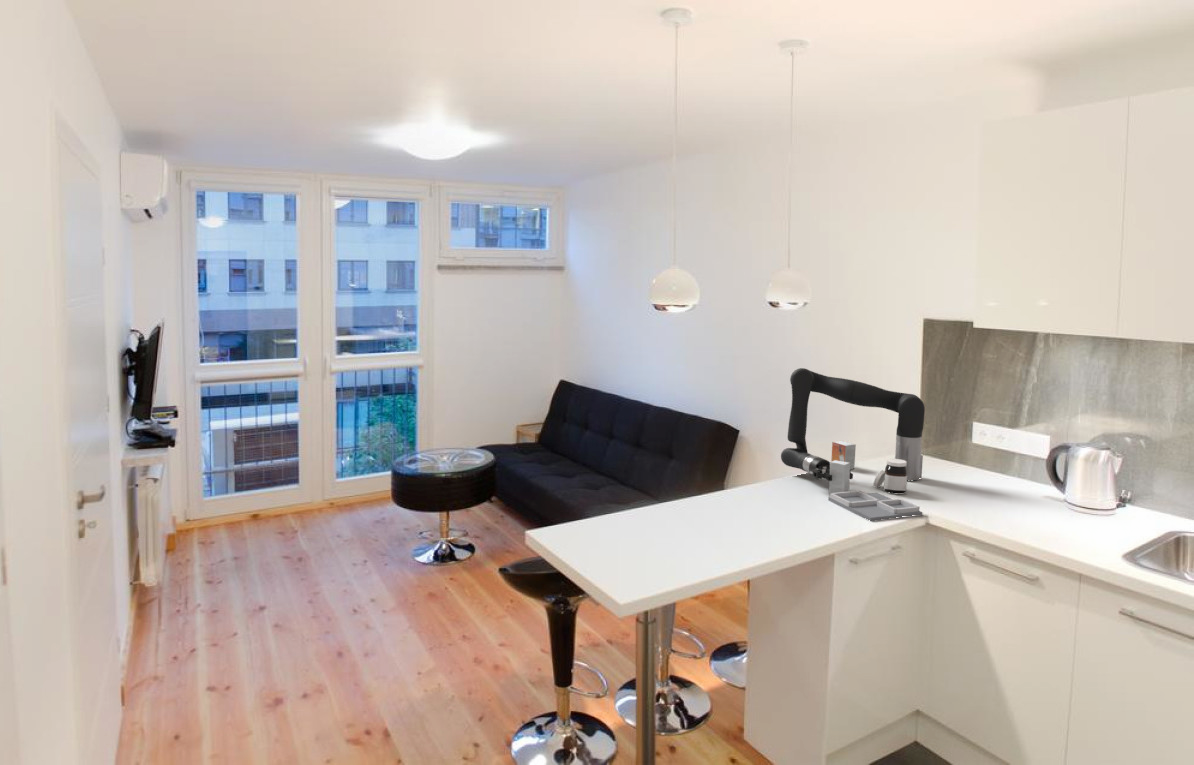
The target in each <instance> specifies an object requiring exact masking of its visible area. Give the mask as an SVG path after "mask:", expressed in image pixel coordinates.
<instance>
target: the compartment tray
mask: <svg viewBox="0 0 1194 765" xmlns="http://www.w3.org/2000/svg"><path fill="white" fill-rule="evenodd" d="M827 500H828V501H830V502H831V503H834V504H835V505H837V506H839V507H840V508H843V509H846V510H847V511H849V512H851V513H853V514H855V515H857V516H859V517H861V518H862V519H865V518H866V519H865V520H867V519H868V520H867V521H869V520H870V521H869V522H876V521H875V520H878V521H882V520H881V519H887V520H890V519H889V518H896V517H902V516H912V515H922V516H923V512H922V511H920V507H921V506H919V505H917V504H914V503H913V502H909V501H907V500H905V499H903V498H891V497H888V496H886V495H884V494H881V493H879V492H875V491H874V492H867V493H865V492H863V491H861V490H851V491H850V490H849V491H848V492H838V493H832V494H829V496H828V499H827Z"/></svg>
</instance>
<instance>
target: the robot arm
mask: <svg viewBox="0 0 1194 765" xmlns="http://www.w3.org/2000/svg"><path fill="white" fill-rule="evenodd" d="M789 381H790V385H791V395H792V397H791V398H792V399H791V408H790V414H789V418H788V419H789V420H788V428H787V441H789V442H791V443H794V444H795V445H796V448H795V447H794V448H793V447H788V448H785V449H783V450H782V452H781V453H780V460H781V462H782V463H783V464H784V465H785V466H787V467H791V468H794V469H799V470H802V471H803V472H806V473H807V474H809V475H810V477H812V478H814V479H816V480H826V481H832V475H830V462H831V461H829V460H827V459H826V458H822V457H820V456H818V455H814V454H811V453H808V448H807V440H806V434H807V425H808V423H807V422H808V405H809V399H810V394H811V392H813V393H817V394H818V393H819V394H822V395H825V396H828V397H830V398H832V399H835V400H838V401H841V402H844V403H847V404H850V405H854V406H859V407H868V408H880V409H884V410H889V411H891V412H894V413H897V414H898V418H897V427H896V436H895V453H894V454H895V456H894V459H901V460H905V461H906V462H907V463H906V468H907V480H917V481H919V480H920V479H919V478H923V476H922V475H923V462H924V461H923V460H924V458H923V457H924V455H922V440H923V439H922V438H923V431H924V425H925V424H924V422H925V414H926V413H925V409H926V408H925V404H924V402H923V400H922V399H921V398H920V397H919V396H917V395H916V394H914V393H913V394H912V393H908V392H907V393H906V392H897V391H893V390H888V389H884V388H882V387H878V386H875V385H873V384H868V383H865V382H861V381H857V380H854V379H853V380H852V379H848V378H842V377H833V376H828V375H824V374H821V373H818V372H814V371H812V370H809V369H808V368H802V367H801V368H797V369H795V370H793V372H792V373H791V375H790V379H789ZM851 471H852V469H850V480H853V478H854V474H853V473H852V472H851ZM918 479H919V480H918Z"/></svg>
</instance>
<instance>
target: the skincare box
mask: <svg viewBox="0 0 1194 765" xmlns="http://www.w3.org/2000/svg"><path fill="white" fill-rule="evenodd" d="M829 462H830V475H832V481H829V482H828V483H829V484H828V487H829V488H828V494H829V495H830V494H832V493H838V492H848V491H850V480H851V479H850V463H848V462H842V461H837V460H835V461H832V462H831V461H829Z"/></svg>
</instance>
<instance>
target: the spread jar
mask: <svg viewBox="0 0 1194 765" xmlns="http://www.w3.org/2000/svg"><path fill="white" fill-rule="evenodd" d="M906 463H907V462H906V461H905V460H901V459H895V458H888V459H886V466H885V469H882V470H880V471H879V472H878V473H877V475H876V477H875V478H874V481H873V486H874V487H875V488H878V489H879V488H880V487H881V486H882V485H883V488H884V492H886V493H888V492H890V493H889V494H892V493H904V494H906V492H907V486H908V485H907V484H908V481H907V468H906ZM883 483H884V484H883Z"/></svg>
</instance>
